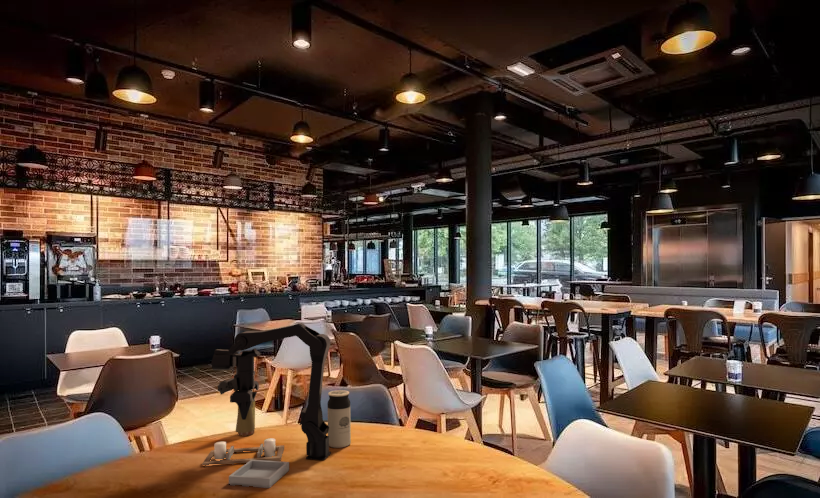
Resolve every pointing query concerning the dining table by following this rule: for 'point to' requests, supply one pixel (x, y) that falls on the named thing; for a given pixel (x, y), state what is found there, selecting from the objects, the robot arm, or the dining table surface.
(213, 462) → the ladder
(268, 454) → the cylinder
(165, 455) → the dining table surface
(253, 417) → the sauce bottle
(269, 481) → the tray
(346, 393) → the travel mug
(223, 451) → the white short cylinder
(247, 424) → the cork
